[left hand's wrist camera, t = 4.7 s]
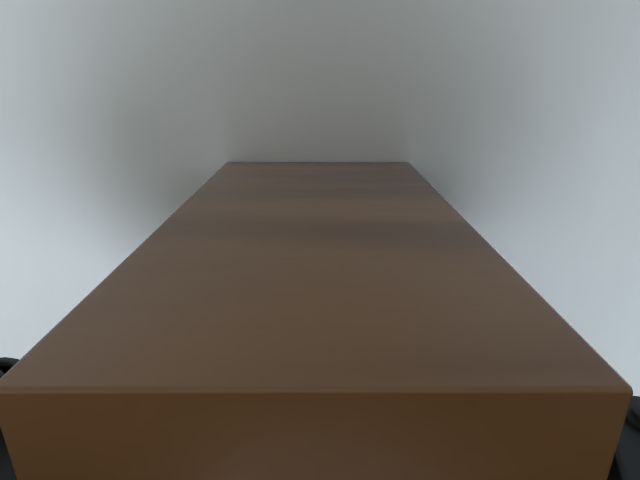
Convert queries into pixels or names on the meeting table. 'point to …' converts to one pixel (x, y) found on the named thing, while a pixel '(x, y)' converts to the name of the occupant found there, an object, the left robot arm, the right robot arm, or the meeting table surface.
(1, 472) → the left robot arm
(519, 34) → the meeting table surface
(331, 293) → the box
